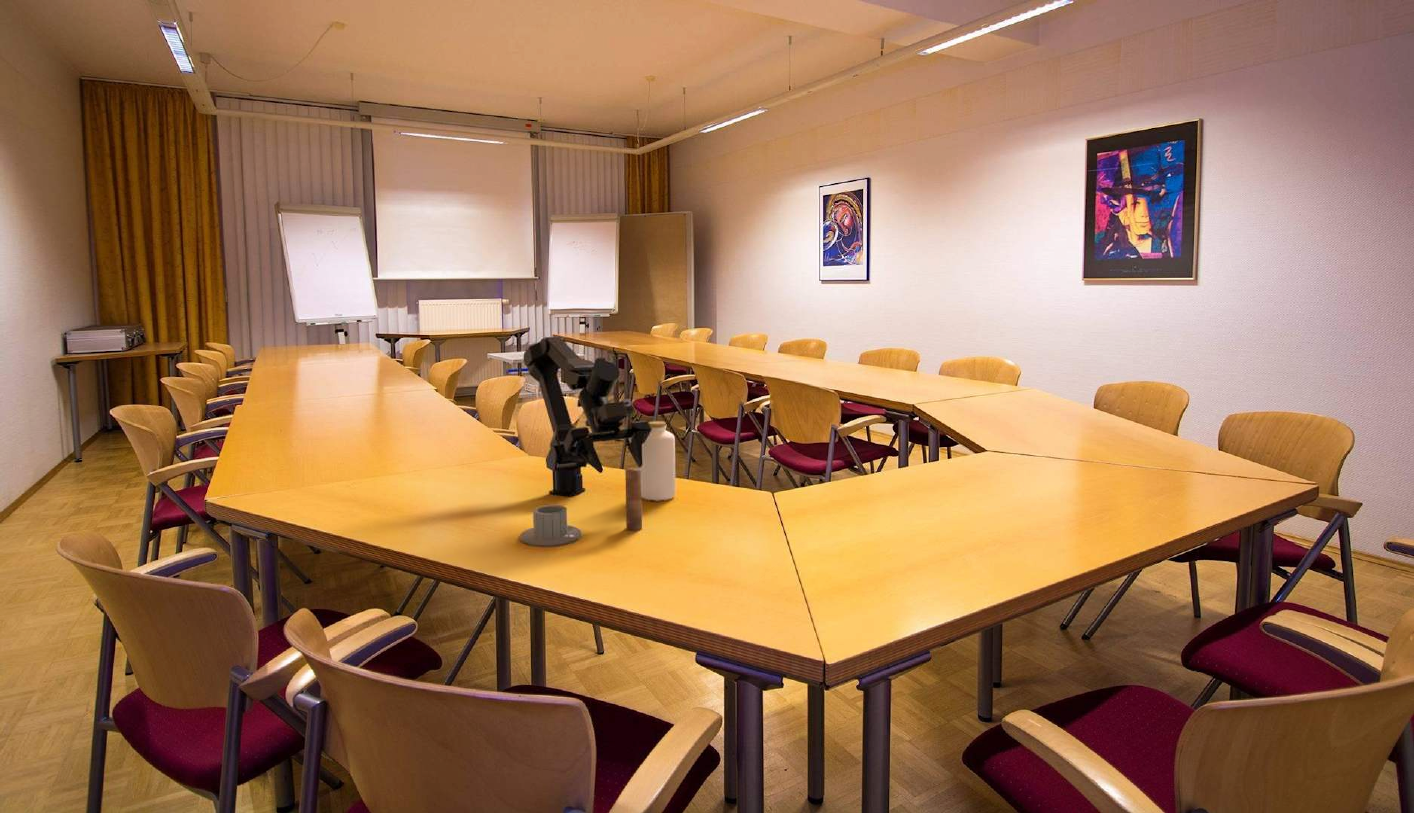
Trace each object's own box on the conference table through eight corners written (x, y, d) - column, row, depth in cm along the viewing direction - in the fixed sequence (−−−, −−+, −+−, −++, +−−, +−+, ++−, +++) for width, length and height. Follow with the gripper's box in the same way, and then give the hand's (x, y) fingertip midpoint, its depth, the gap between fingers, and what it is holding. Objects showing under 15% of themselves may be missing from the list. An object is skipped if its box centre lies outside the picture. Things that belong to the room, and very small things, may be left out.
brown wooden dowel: (623, 529, 159) (622, 470, 157) (631, 525, 162) (630, 467, 160) (636, 531, 158) (635, 471, 156) (644, 527, 160) (644, 468, 158)
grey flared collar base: (507, 540, 152) (505, 513, 151) (546, 524, 163) (545, 498, 162) (556, 550, 147) (555, 521, 146) (593, 532, 157) (592, 505, 156)
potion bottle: (633, 499, 182) (632, 423, 179) (652, 491, 189) (651, 418, 186) (663, 503, 178) (663, 426, 175) (681, 495, 185) (681, 421, 183)
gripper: (567, 390, 159) (591, 452, 152) (647, 384, 169) (673, 441, 162) (553, 422, 167) (576, 483, 159) (630, 415, 177) (655, 471, 169)
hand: (621, 468), depth 162 cm, fingers open, 9 cm apart
